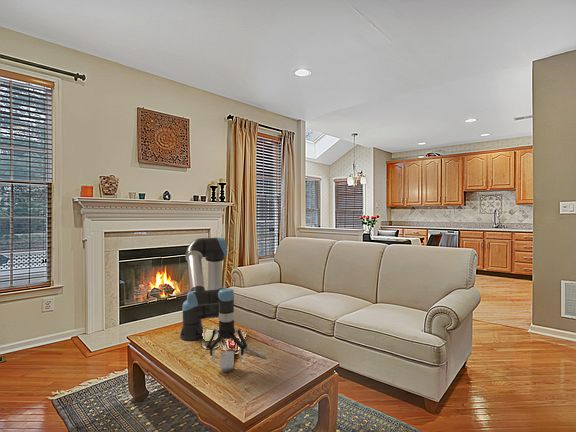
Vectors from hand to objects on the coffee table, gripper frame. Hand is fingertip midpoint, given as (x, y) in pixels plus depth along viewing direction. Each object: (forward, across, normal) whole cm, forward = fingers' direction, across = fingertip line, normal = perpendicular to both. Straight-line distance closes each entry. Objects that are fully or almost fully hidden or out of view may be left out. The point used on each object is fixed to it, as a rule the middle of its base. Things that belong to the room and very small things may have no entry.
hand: (227, 361), depth 173 cm
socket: (+2, 0, 0) cm, 2 cm away
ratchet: (+4, 0, +8) cm, 9 cm away
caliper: (+5, +11, +17) cm, 21 cm away
